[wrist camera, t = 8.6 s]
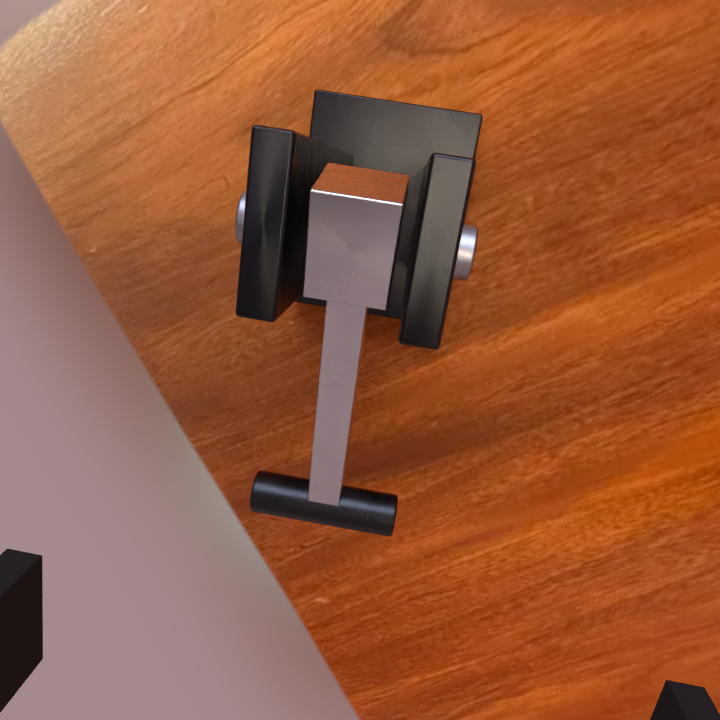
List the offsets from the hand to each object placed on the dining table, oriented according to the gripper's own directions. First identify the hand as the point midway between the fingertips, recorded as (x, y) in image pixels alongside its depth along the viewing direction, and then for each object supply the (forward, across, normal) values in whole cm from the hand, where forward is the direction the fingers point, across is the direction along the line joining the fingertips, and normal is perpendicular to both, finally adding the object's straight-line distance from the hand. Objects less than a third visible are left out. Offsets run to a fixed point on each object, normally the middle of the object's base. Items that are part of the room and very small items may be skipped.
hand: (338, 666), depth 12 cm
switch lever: (+8, -1, +4) cm, 9 cm away
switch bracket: (+18, -2, +8) cm, 19 cm away
